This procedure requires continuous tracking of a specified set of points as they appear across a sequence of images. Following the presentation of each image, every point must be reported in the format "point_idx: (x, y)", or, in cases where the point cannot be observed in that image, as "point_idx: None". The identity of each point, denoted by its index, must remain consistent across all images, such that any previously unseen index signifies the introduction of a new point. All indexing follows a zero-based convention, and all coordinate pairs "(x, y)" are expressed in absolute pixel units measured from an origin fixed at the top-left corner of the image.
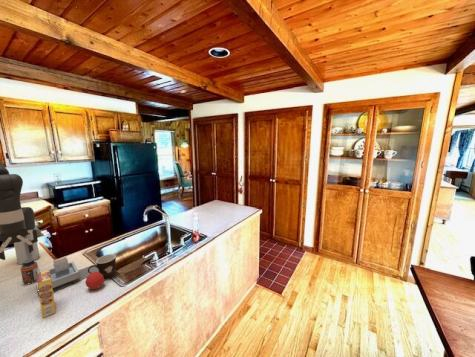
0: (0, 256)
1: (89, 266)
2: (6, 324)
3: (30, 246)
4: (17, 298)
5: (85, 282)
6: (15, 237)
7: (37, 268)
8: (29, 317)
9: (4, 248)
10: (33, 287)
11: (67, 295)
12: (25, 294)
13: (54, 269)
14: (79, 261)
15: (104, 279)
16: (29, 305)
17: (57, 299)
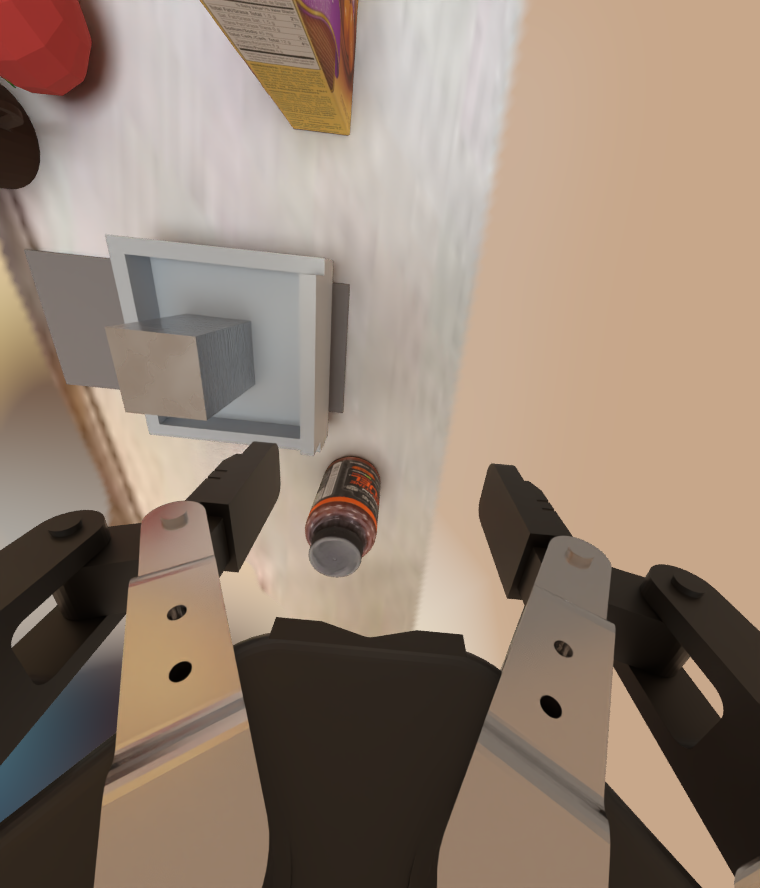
0: (544, 506)
1: (115, 385)
2: (495, 119)
3: (213, 489)
4: (416, 366)
5: (61, 10)
6: (319, 847)
7: (314, 501)
8: (410, 65)
9: (540, 577)
10: (354, 411)
11: (226, 127)
12: (387, 373)
13: (236, 394)
14: (167, 489)
15: (6, 91)
16: (390, 228)
17: (275, 137)
